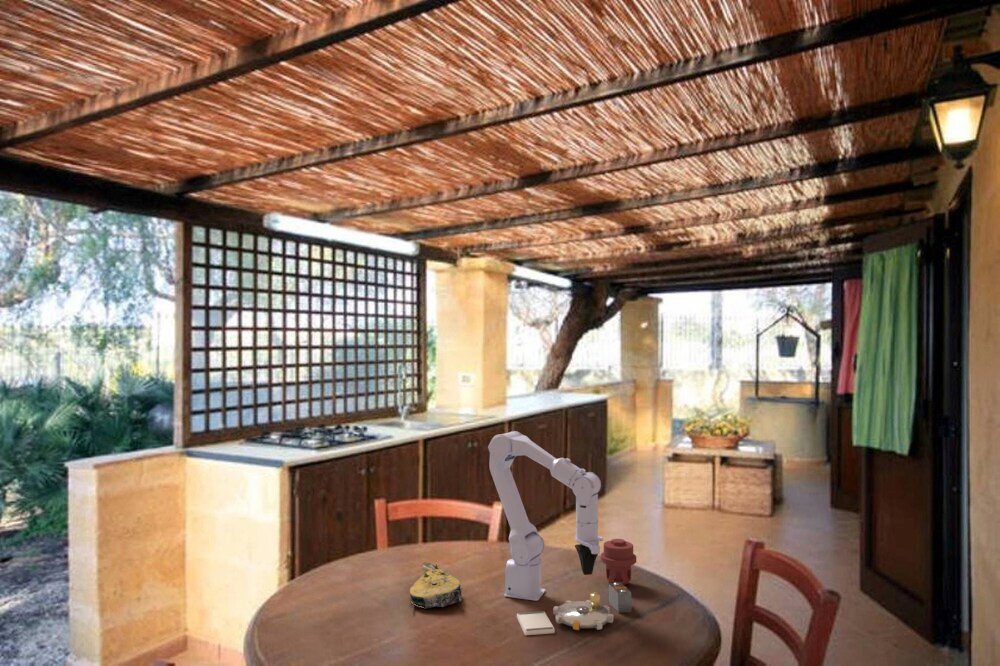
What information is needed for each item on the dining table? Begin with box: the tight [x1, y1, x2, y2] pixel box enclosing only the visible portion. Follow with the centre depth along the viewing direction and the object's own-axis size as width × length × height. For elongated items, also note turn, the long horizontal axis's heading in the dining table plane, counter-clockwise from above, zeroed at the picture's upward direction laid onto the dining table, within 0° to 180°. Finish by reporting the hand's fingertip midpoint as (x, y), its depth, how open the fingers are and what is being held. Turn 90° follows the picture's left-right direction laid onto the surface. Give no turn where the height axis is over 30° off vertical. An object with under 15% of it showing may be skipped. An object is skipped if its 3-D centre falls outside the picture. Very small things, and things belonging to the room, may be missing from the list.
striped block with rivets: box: [608, 582, 632, 613], centre depth 163 cm, size 7×4×5 cm, turn 10°
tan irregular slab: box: [409, 561, 464, 611], centre depth 173 cm, size 14×6×30 cm
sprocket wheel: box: [552, 591, 614, 631], centre depth 154 cm, size 15×15×4 cm
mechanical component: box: [600, 538, 637, 586], centre depth 179 cm, size 12×10×10 cm
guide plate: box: [516, 610, 556, 636], centre depth 152 cm, size 10×7×1 cm
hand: (587, 573), depth 163 cm, fingers closed
